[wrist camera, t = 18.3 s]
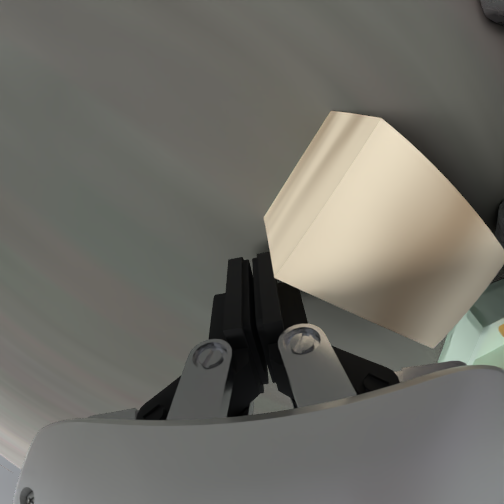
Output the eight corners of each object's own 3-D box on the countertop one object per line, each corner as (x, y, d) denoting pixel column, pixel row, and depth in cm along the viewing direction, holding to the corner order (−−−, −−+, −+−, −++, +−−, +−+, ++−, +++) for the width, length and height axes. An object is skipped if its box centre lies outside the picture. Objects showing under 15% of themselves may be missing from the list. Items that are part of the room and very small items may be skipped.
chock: (263, 215, 12) (274, 278, 8) (329, 110, 10) (381, 118, 6) (394, 288, 14) (433, 348, 10) (451, 212, 12) (508, 256, 8)
